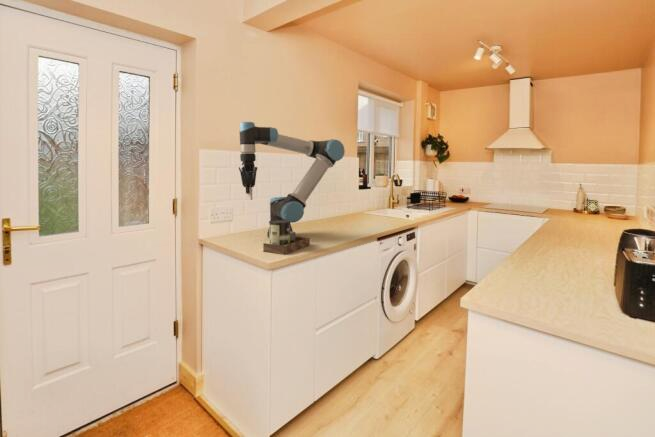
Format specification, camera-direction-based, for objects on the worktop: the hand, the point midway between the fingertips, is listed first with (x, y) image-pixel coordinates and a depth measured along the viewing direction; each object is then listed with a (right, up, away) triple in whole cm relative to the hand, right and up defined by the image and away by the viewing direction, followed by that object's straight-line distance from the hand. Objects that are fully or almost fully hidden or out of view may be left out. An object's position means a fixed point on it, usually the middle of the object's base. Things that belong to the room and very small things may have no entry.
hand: (249, 199), depth 188 cm
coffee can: (+17, -25, -8) cm, 32 cm away
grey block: (+20, -24, +1) cm, 31 cm away
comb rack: (+20, -25, -6) cm, 32 cm away
